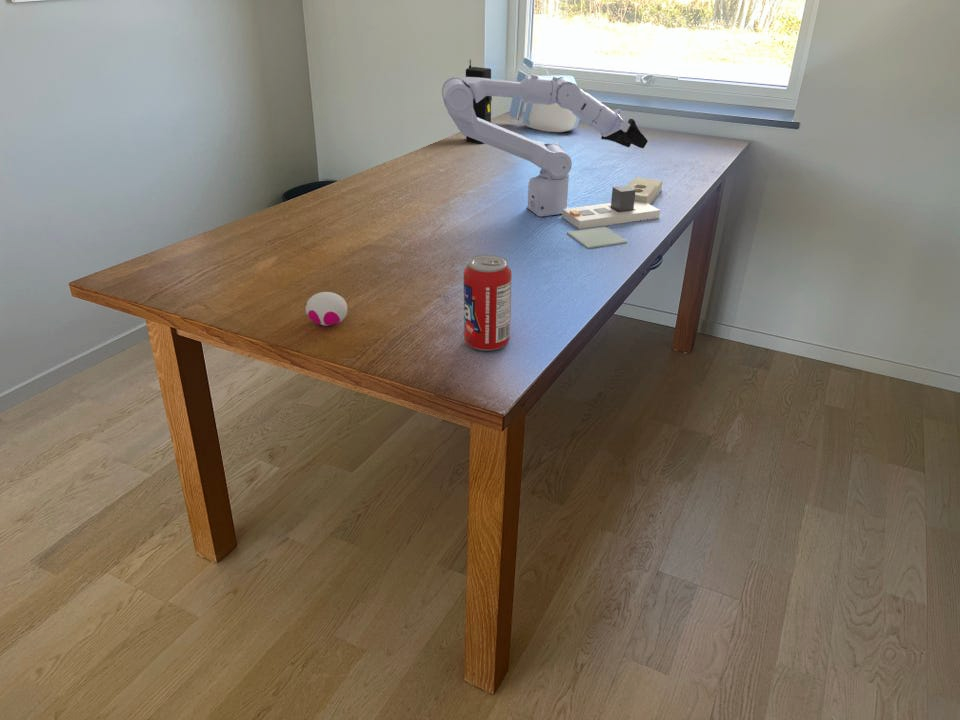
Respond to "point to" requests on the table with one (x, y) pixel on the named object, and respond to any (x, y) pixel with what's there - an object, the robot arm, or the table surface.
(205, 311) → the table surface
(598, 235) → the mat
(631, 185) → the electrical outlet
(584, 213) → the power strip
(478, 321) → the soda can
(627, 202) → the charger
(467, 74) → the portable radio
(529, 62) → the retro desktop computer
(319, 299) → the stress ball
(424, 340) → the table surface
